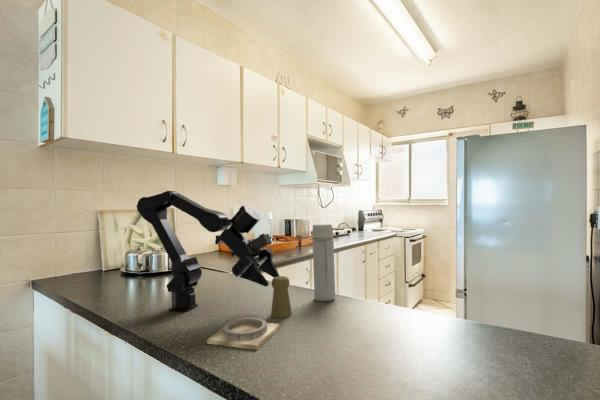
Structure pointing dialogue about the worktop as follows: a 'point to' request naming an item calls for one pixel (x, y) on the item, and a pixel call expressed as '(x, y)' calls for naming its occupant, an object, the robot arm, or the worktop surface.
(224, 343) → the seat
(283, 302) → the cork
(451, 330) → the worktop surface
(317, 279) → the water bottle
